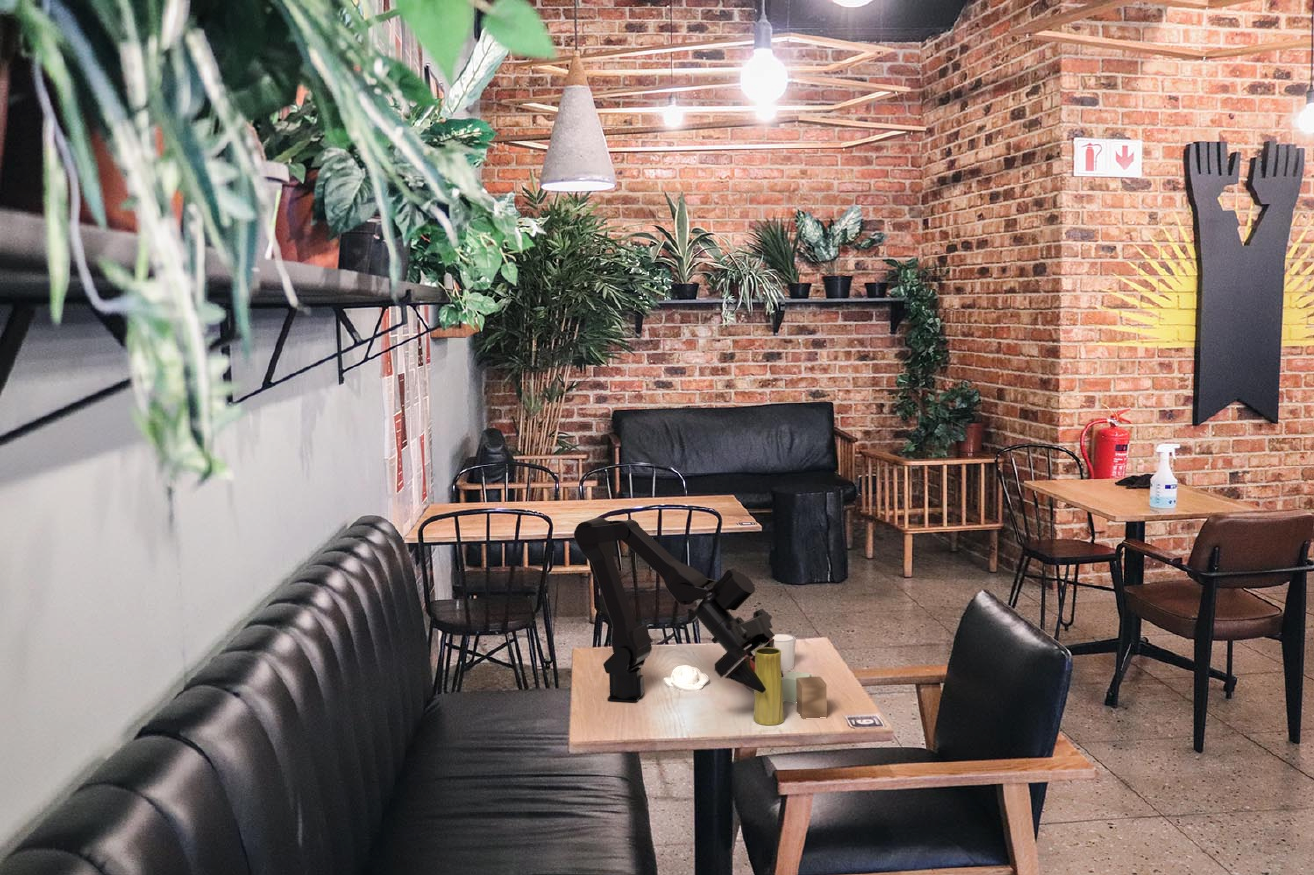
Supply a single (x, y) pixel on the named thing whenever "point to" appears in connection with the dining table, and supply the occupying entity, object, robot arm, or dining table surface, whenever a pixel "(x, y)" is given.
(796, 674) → the sage block
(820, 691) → the walnut block
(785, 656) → the white cup
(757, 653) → the vase
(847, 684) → the dining table surface
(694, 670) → the rose
